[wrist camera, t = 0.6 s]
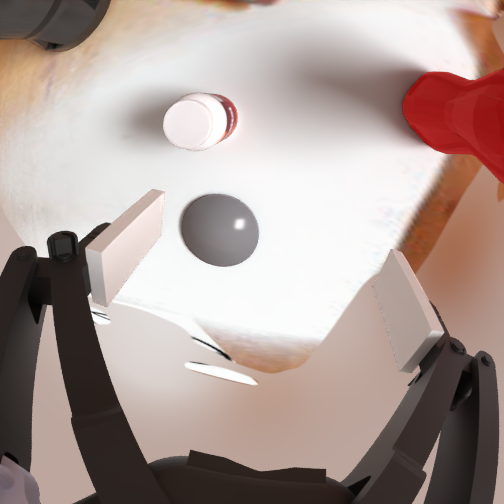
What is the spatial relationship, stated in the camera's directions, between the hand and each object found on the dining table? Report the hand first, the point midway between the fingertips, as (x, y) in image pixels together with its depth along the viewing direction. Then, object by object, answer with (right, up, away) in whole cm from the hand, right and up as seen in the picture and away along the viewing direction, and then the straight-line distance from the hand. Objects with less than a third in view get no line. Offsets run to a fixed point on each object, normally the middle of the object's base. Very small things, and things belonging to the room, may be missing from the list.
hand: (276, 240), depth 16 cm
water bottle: (+23, +18, +13) cm, 32 cm away
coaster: (-6, +2, +26) cm, 26 cm away
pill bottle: (-6, +16, +18) cm, 25 cm away
